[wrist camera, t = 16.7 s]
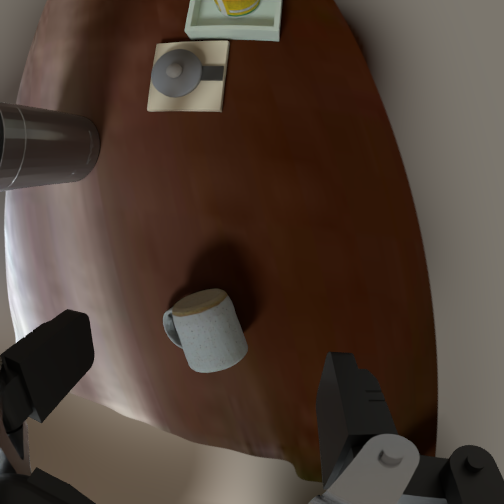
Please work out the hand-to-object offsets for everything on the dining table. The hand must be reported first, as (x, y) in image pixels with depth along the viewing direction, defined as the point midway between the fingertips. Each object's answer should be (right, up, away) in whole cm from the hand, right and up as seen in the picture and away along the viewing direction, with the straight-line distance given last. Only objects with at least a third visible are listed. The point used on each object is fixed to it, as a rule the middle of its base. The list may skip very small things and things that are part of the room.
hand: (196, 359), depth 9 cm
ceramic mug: (-4, -5, +31) cm, 32 cm away
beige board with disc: (-6, +24, +24) cm, 34 cm away
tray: (0, +34, +21) cm, 40 cm away
